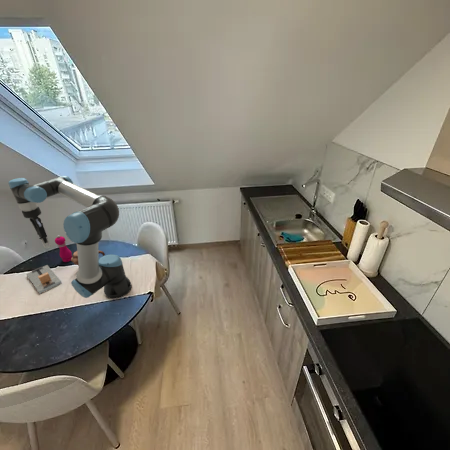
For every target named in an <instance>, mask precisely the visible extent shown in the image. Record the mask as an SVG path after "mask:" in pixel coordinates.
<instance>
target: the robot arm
mask: <svg viewBox="0 0 450 450" xmlns="http://www.w3.org/2000/svg"><path fill="white" fill-rule="evenodd" d="M8 186H9V189H10V191H11V192H12V194H13V197H14V199H15V201H16V203H17V206H18V209H20V211H21V213H22V216H23V217H24V219H29V221H30V222H31V224H32V226H33V228H34V230H35V232H36V233H37V236H38V237H39V238H38V239H39V240H40V241H41V243H42V245H43V247H44V248H45V249H49V248H51V243H50V241H49V239H48V234H47V232H46V230H45V228H44V227H45V226H44V224H43V222H42V219H41V218H40V217H39V216H40V215H42V211H41V209H40V206H39V203H43V202H44V201H46V199H47V198H49V197H52V196H56V195H61V196H63V197H66V198H67V199H69V200H71V201H73V202H75V203H77V204H79V205H80V206H83V207H85V208H83V209H81V210H79V211H74V212H73V213H71V214H69V215H67V216H66V217H65V218H64V220H63V230H64V232H65V235H66V236H67V239H69V240H70V241H71V242H73V244H76V251H77V253H78V264H79V266H78V270H77V271H76V273H75V278H74V279H72V280H71V283H70V284H71V286H72V288H73V290H75V291H76V293H78V295H80V296H81V297H83V298H84V299H87V298H90V297H91V296H93V295H94V294H95V293H97V292H98V291H100V290H101V289H103V292H104V296H105V297H106V298H108V299H113V300H114V299H119V298H122V297H124V296H126V295H127V294H128V293H130V291H131V290H132V288H133V287H132V282H131V280H130V279H129V277H127V275H126V272H125V268H124V264H123V261H122V259H121V257H120V256H119V255H117V254H106V255H105V256H103V255H102V256H100V257H99V254H100V253H99V251H100V249H99V242H101V240H102V238H103V231H106V230H107V229H109V228H111V227H112V226H114V225H116V223H117V222H118V221H119V218H120V208H119V206H118V205H117V203H116V202H115V201H114V200H113V199H112V198H110V197H108V196H106V195H98V194H96V193H94V192H91V191H89V189H85V188H83V187H81V186H79V185H77V184H75V183H74V182H73V180H72V178H70V176H68V175H62V176H57V177H55V178H51V179H48V180H46V181H41V182H37V183H34V184H30V182H29V181H28V179H27V178H25V177H18V178H17V177H16V178H14V179H11V180H9V181H8Z"/></svg>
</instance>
